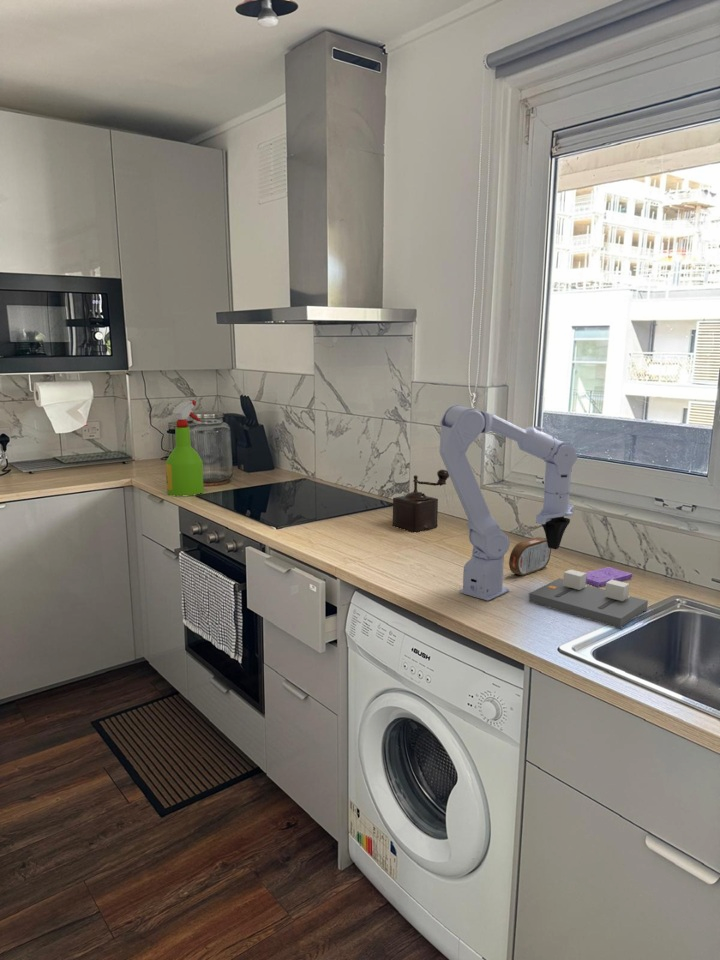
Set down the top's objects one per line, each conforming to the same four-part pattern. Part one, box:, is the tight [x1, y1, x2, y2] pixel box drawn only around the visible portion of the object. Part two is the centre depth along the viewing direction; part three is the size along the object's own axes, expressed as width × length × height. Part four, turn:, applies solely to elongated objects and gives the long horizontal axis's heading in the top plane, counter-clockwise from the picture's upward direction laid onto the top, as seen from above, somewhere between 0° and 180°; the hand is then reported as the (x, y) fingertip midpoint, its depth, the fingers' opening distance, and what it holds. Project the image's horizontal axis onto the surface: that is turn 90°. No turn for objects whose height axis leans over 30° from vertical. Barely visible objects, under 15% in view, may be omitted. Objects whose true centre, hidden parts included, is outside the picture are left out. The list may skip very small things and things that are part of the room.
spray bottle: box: [165, 399, 205, 497], centre depth 265 cm, size 14×18×35 cm
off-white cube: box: [562, 569, 587, 590], centre depth 159 cm, size 3×4×3 cm
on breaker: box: [604, 580, 630, 601], centre depth 152 cm, size 3×4×3 cm
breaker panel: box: [528, 577, 649, 629], centre depth 153 cm, size 14×21×2 cm, turn 47°
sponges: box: [583, 566, 633, 588], centre depth 171 cm, size 7×13×2 cm, turn 122°
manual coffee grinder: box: [392, 469, 450, 533], centre depth 218 cm, size 16×11×18 cm
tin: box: [508, 536, 552, 576], centre depth 176 cm, size 15×3×8 cm, turn 131°
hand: (553, 548), depth 164 cm, fingers closed
